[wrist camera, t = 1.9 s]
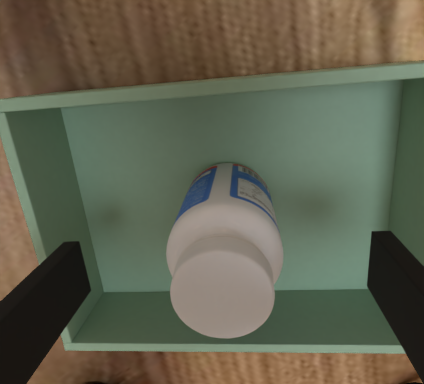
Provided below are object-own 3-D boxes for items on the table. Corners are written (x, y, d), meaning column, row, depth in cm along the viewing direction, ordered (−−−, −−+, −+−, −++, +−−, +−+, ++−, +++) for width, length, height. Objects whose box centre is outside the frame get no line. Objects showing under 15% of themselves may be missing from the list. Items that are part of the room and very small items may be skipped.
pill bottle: (194, 240, 23) (160, 355, 14) (181, 165, 21) (132, 240, 12) (274, 234, 22) (295, 351, 13) (268, 156, 20) (288, 228, 11)
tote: (52, 92, 21) (-12, 100, 15) (413, 61, 18) (479, 57, 13) (100, 294, 26) (65, 350, 21) (386, 291, 23) (426, 354, 18)
